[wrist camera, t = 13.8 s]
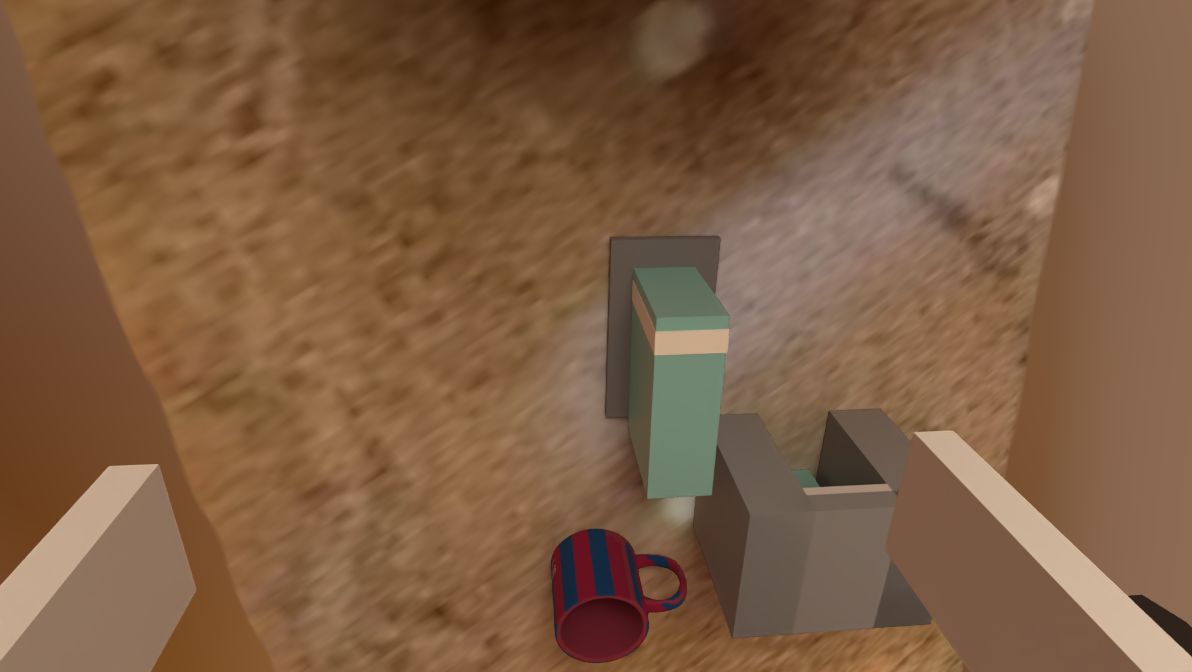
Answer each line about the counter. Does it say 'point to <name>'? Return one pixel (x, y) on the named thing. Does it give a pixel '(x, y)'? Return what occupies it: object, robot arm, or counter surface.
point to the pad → (622, 263)
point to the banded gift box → (676, 380)
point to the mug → (604, 595)
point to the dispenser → (806, 529)
